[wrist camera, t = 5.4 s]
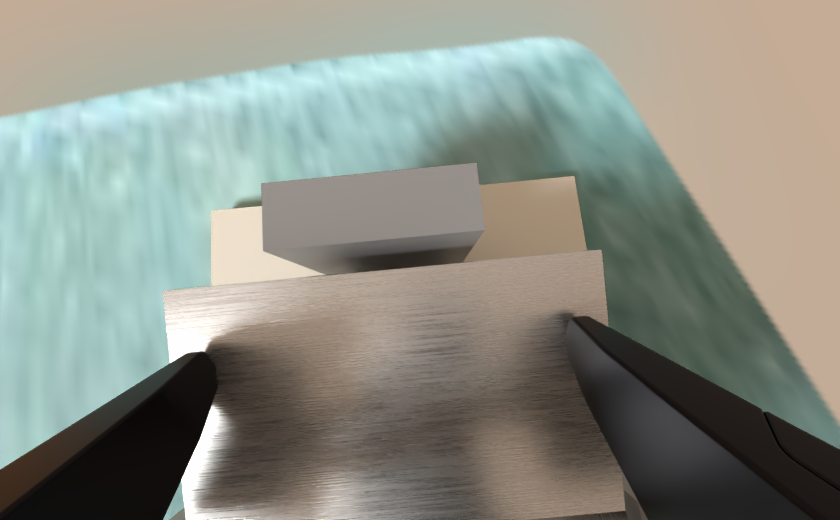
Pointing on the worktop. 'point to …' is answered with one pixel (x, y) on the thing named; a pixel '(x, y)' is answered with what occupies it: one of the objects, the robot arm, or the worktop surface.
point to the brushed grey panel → (399, 395)
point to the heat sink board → (501, 239)
